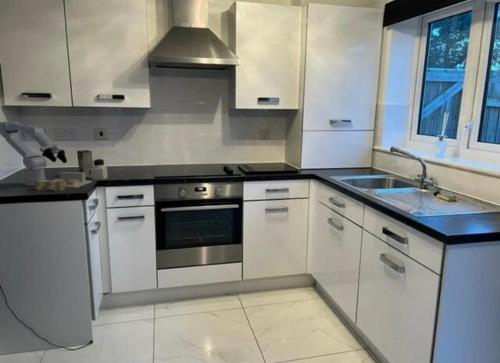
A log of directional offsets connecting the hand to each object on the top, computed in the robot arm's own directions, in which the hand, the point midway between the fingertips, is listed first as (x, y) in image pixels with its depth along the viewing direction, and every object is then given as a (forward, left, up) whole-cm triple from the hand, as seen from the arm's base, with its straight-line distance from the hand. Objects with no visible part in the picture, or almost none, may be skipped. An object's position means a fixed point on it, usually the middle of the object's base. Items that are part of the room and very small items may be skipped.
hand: (60, 161), depth 198 cm
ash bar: (-4, -5, -15) cm, 16 cm away
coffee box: (-8, +34, -15) cm, 38 cm away
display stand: (-3, +8, -14) cm, 17 cm away
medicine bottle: (+6, +26, -15) cm, 31 cm away
